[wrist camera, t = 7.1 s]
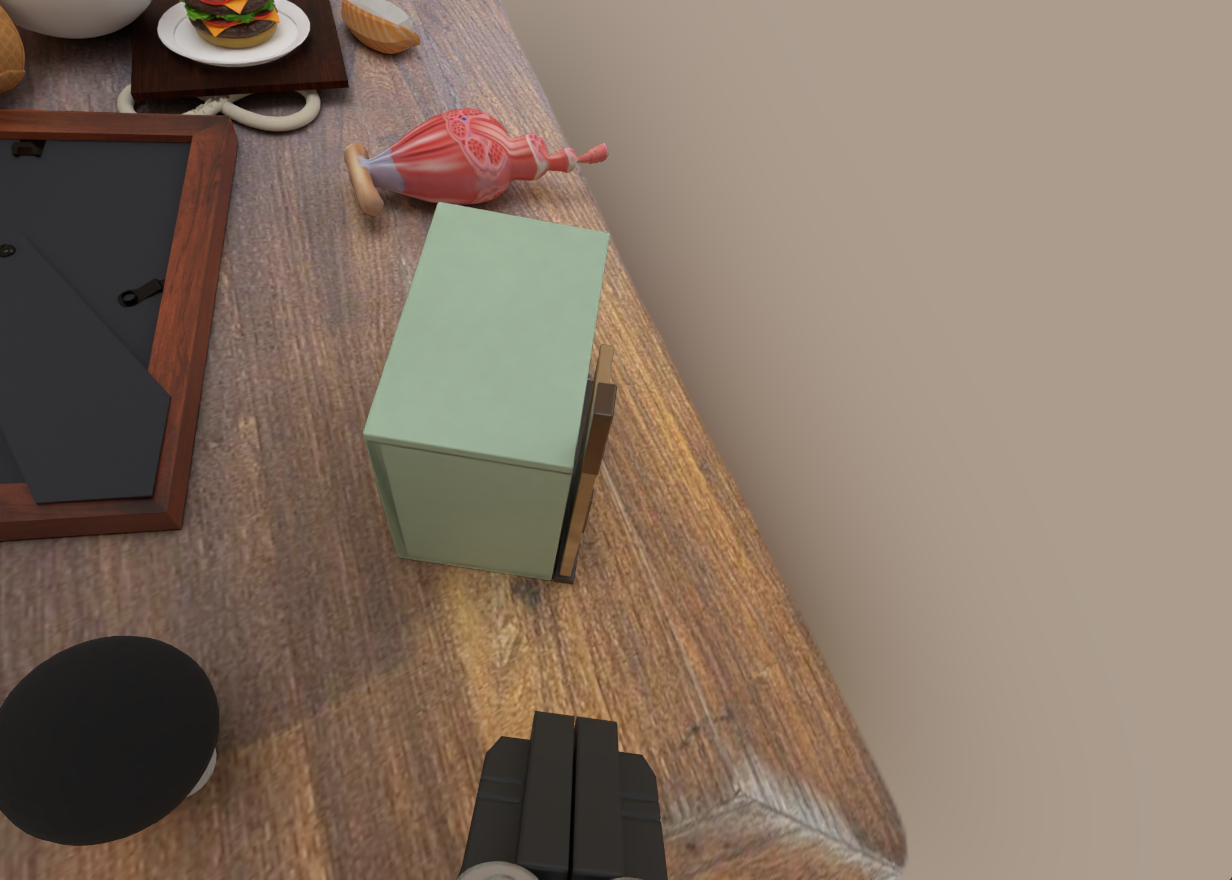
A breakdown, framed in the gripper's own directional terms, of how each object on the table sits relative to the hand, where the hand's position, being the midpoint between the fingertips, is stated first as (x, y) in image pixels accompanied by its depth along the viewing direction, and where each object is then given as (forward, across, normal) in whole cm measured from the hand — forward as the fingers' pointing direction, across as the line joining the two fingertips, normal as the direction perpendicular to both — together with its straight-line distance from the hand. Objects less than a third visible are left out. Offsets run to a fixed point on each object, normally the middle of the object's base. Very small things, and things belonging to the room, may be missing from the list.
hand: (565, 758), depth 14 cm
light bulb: (+14, +13, +13) cm, 23 cm away
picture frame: (+27, +30, -1) cm, 40 cm away
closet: (+24, +4, +2) cm, 25 cm away
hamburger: (+43, +25, -17) cm, 53 cm away
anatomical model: (+37, +9, -14) cm, 41 cm away
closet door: (+22, 0, +4) cm, 22 cm away
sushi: (+46, +16, -21) cm, 53 cm away
